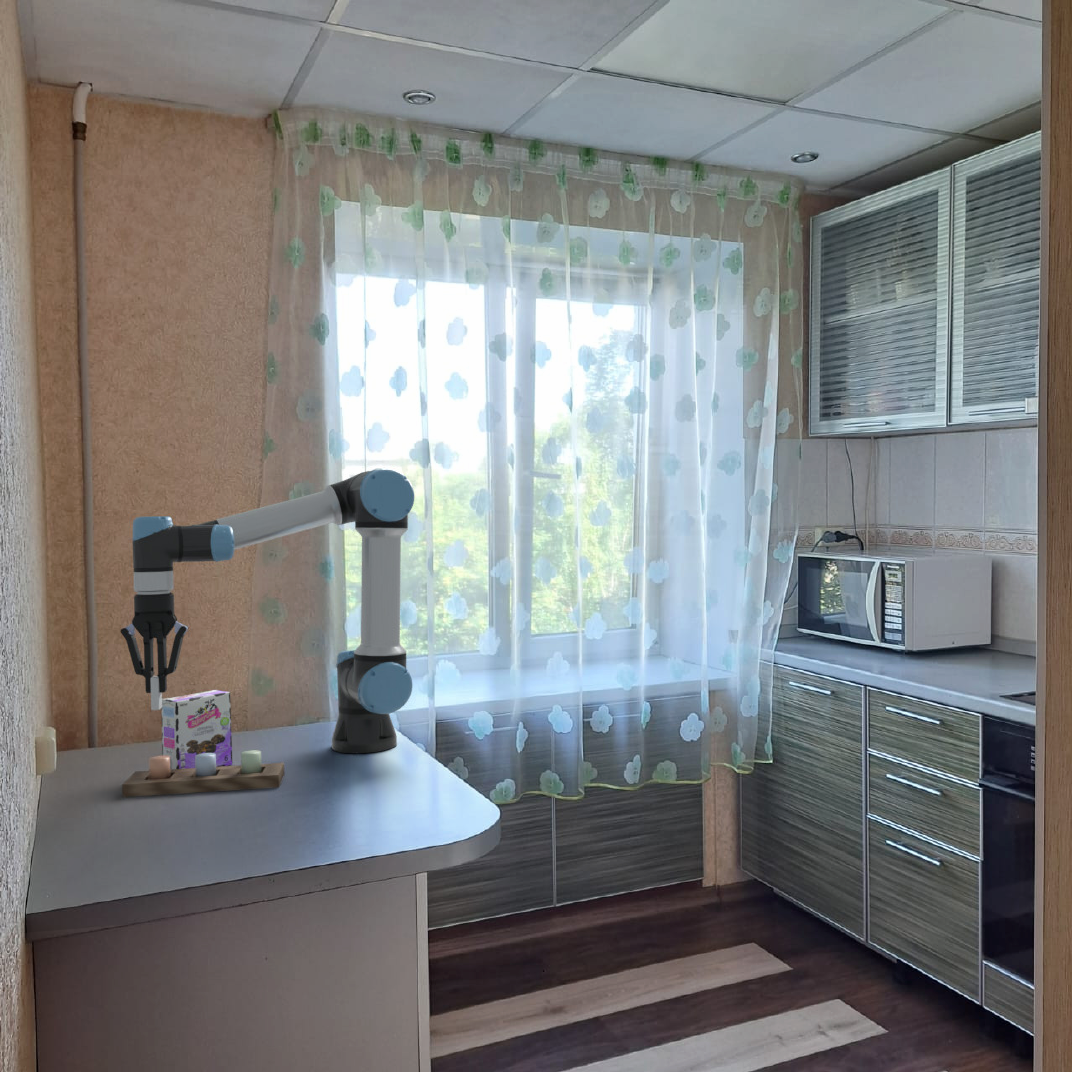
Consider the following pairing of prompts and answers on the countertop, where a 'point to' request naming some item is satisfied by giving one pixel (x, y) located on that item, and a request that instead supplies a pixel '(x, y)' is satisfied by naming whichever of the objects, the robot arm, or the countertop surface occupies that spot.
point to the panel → (203, 781)
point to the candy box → (197, 728)
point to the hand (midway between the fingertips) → (156, 708)
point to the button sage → (251, 762)
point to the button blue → (205, 764)
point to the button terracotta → (159, 767)
